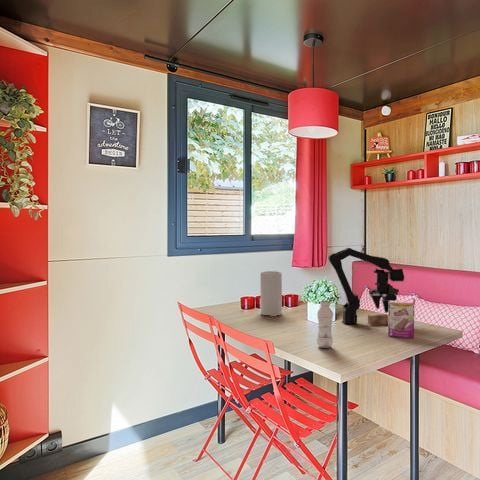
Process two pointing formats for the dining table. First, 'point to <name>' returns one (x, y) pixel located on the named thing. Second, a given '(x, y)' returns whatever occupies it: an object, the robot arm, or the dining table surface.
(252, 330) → the dining table surface
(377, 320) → the turner
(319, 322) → the plastic bottle
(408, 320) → the candy bar box
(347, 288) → the robot arm
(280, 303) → the cylinder vase
